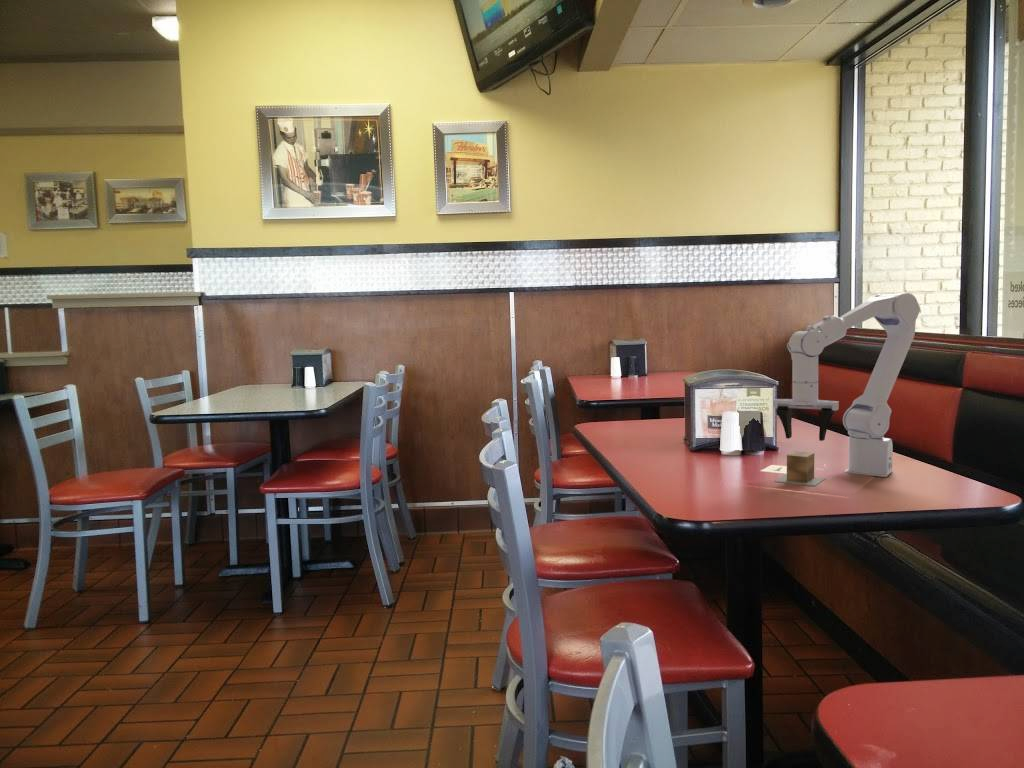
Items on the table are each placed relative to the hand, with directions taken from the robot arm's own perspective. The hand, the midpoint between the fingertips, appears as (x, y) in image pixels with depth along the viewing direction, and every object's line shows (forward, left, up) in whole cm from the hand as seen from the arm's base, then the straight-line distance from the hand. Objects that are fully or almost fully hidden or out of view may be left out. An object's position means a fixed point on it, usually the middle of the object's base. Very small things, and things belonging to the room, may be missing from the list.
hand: (805, 439), depth 183 cm
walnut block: (0, +5, -9) cm, 10 cm away
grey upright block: (+23, -27, -10) cm, 37 cm away
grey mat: (-1, +5, -9) cm, 11 cm away
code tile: (+6, -5, -9) cm, 12 cm away
